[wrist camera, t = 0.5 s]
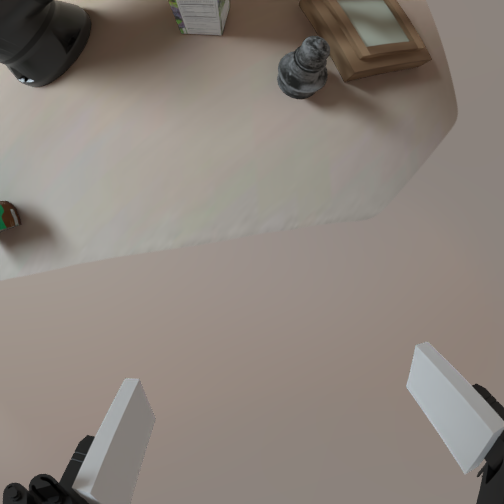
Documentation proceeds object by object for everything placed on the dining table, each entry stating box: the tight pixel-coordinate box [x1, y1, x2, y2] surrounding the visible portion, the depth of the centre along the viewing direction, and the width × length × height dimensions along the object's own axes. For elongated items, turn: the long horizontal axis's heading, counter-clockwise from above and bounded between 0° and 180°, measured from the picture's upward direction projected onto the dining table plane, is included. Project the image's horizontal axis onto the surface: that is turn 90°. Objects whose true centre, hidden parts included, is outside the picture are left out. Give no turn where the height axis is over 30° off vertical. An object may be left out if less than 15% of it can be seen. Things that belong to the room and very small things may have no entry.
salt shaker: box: [277, 36, 330, 99], centre depth 26 cm, size 6×6×12 cm
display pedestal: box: [299, 0, 432, 82], centre depth 27 cm, size 14×14×5 cm
